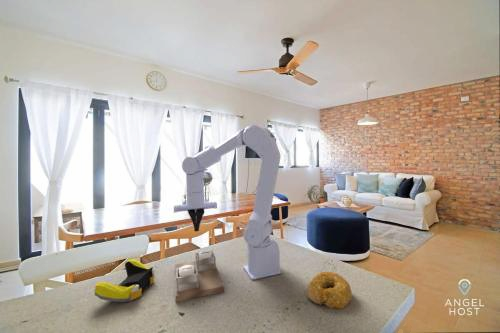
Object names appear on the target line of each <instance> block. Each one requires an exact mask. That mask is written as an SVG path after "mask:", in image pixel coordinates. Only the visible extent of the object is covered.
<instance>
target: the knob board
mask: <svg viewBox="0 0 500 333" xmlns="http://www.w3.org/2000/svg"><path fill="white" fill-rule="evenodd" d="M210 251H211V252H212V257H209V258H204V259H199V252H200V251H197V252H195V260H194V261H193V260H192V261H188V262H181V263H176V264H174V283H175V303H179V302H185V301H189V300H192V299H196V298H202V297H206V296H209V295H213V294H218V293H222V292H225V285H224V283H223V280H222V277H221V276H220V273H219V271H218V270H219V269H218V268H217V264H216V255H215V253H214V251H213V250H212V249H211V250H210ZM185 265H193V266H194V272H195V274H192V275H187V276H182V277H179V268H180V267H182V266H185Z"/></svg>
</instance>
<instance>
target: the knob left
mask: <svg viewBox="0 0 500 333" xmlns="http://www.w3.org/2000/svg"><path fill="white" fill-rule="evenodd" d="M192 274H195V272H194V266H193V265H185V266H182V267H180V268H179V277H182V276H187V275H192Z"/></svg>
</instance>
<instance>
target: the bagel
mask: <svg viewBox="0 0 500 333" xmlns="http://www.w3.org/2000/svg"><path fill="white" fill-rule="evenodd" d="M352 294H353V291H352V289H351V286H350V284H349V282H348V280H346V279H345V278H344V277H343V276H342V275H341V274H339V273H336V272H332V271H321V272H318V273H317V274H316V275H314V276H313V278H312V279H311V280H310V282H309V283H308V287H307V290H306V296H307V298H308V300H309V301H312V302H313V303H315V304H316V305H320V306H321V305H325V306H326V307H329V309H344V308H345V307H346V306H348V305H349V302H351V300H352Z"/></svg>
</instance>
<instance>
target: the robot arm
mask: <svg viewBox="0 0 500 333" xmlns="http://www.w3.org/2000/svg"><path fill="white" fill-rule="evenodd" d="M277 144H278V143H277V142H276V135H274V134H273V133H272V132H271V131H270V129H268V128H265V127H261V126H258V125H257V124H256V125H255V124H250V125H248V126H246V127H245V128H242V129H240V130H238V132H237V133H235V134H233V135H232V136H230V137H229V138H228V139H226V140H225V141H222V143H220V144H218V145H217V146H213V145H207V146H205V147H204V150H202V151H200V152H196V153H194V156H186V158H184V159H183V161H182V162H181V167H182V170H183V172H184V173H185V178H186V179H185V180H186V182H185V183H186V203H185V204H184V203H183V204H177V205H173V213H179V212H187V213H188V216H189V218H190V220H191V222H192V225H193V231H194V232H200V226H201V222H202V219H203V217H204V214H205V210H210V209H218V203H217V201H212V202H211V201H209V202H208V201H207V202H206V201H205V194H204V193H205V192H204V188H205V187H204V176H205V171H206V170H207V169H208V168H210V167H212V166H213V165H216V164H217V163H219V162H221V160H222V156H225V155H226V154H228V153H230V152H232V151H234V150H236V149H238V148H240V147H244V146H245V147H248V148H249V149H251V150H253V151H254V152H255V153H256V154H257V156H258V157H259V158H260V159H261V163H260V170H259V175H258V181H257V187H256V193H255V199H254V204H253V210H252V212H251V215H250V216H249V219H248V223H247V226H246V227H245V228H244V230H243V233H242V234H243V240H244V241H245V243H246V244H247V250H246V251H247V252H246V253H247V256H246V257H247V264H244V265H243V269H244V270H245V272H246V274H247V275H248V276H249V278H250V279H251V280H253V281H254V280H257V279H261V278H262V279H263V278H266V277H267V278H268V277H271V276H276V275H279V274H281V273H282V271H281V265H280V259H281V258H280V254H281V253H280V247H279V245H278V242H277V241H276V240H275V239H271V238H270V235H271V234H272V232H273V230H274V226H273V223H272V220H273V215H272V214H271V212H272V205H273V202H274V200H273V199H274V196H275V191H276V190H275V189H276V183H277V178H278V174H279V167H280V164H281V162H280V161H281V153H280V152H281V151H280V150H279V147H278V145H277Z"/></svg>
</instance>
